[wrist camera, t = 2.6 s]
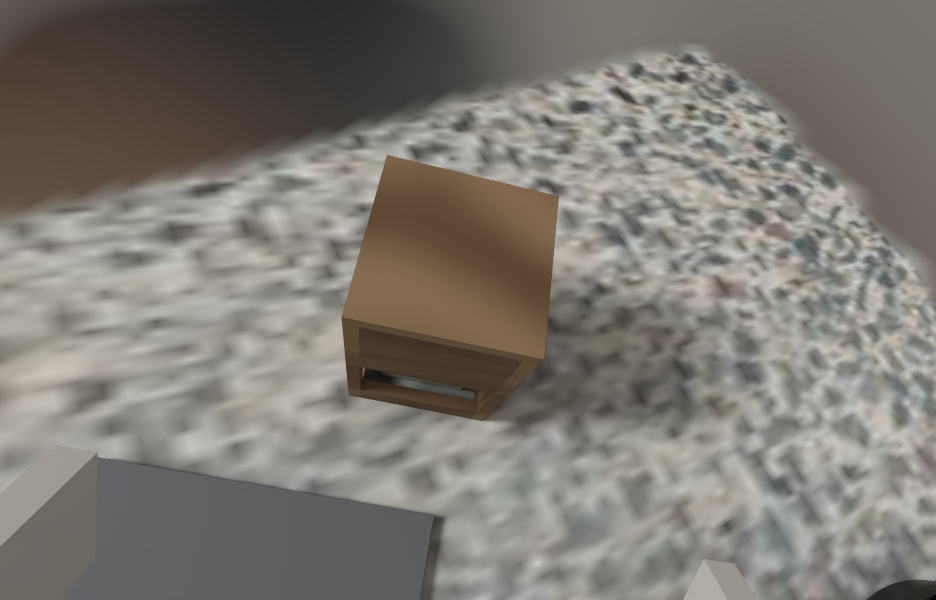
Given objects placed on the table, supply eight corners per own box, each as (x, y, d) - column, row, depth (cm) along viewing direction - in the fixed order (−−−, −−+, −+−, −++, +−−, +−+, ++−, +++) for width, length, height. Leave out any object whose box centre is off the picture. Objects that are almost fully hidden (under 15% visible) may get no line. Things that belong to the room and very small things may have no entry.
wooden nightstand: (482, 420, 29) (544, 359, 19) (348, 394, 28) (341, 317, 18) (498, 301, 32) (558, 196, 22) (379, 275, 31) (387, 154, 22)
